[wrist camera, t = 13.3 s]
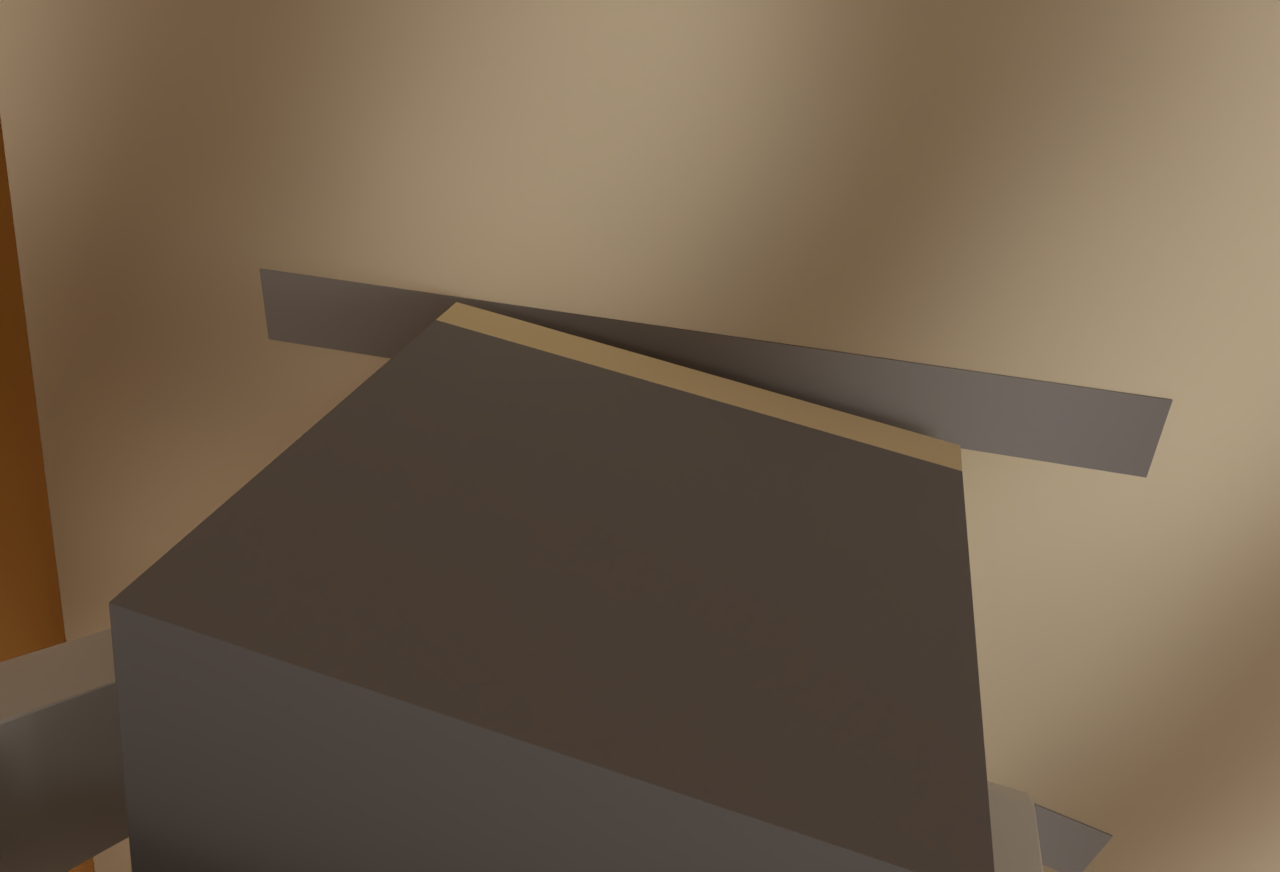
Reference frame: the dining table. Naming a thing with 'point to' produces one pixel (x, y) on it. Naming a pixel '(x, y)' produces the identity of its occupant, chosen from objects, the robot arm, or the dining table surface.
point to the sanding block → (562, 633)
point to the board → (724, 300)
